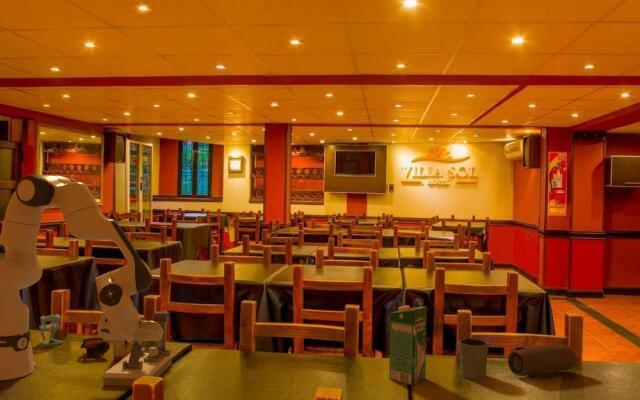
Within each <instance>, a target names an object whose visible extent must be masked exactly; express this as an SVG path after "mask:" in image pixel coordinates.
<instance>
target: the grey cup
mask: <svg viewBox="0 0 640 400" xmlns="http://www.w3.org/2000/svg"><path fill="white" fill-rule="evenodd" d="M458 350H459V351H458V352H459V361H460V362H459V363H460V364H459V365H460V368H459V372H460V377H462V378H464V379H467V380H470V381H482V380H485V379H486V378H487V363H488V352H489V341H487V340H485V339H481V338H475V337H464V338H460V339H459V340H458Z"/></svg>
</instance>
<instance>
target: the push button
mask: <svg viewBox="0 0 640 400" xmlns="http://www.w3.org/2000/svg"><path fill="white" fill-rule="evenodd" d="M148 353H149V358H157V357H158V347H156V346H151V347H148Z"/></svg>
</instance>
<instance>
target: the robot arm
mask: <svg viewBox="0 0 640 400" xmlns="http://www.w3.org/2000/svg"><path fill="white" fill-rule="evenodd" d="M94 196H95V195H93V193H92V192H91V190H90V189H89V187H88V185H86V184H85V183H83V182H80V181H78V180H75V179H74V178H72V177H69V176H66V175H65V176H62V175H56V174H28V175H24V176H23V177H22V178H20V179H19V180H18V182H17V184H16V187H15V191H14V192H13V193H12V195H11V197H10V200H9V201H8V204H7V207H6V209H5V214H4V218H3V222H2V226H1V232H0V244H1V245H2V246H3V247H4V251H5V257H4V260H1V261H0V381H6V380H14V379H19V378H22V377H25V376H28V375H30V374H32V373H33V372H34V371H35V367H36V365H37V364H36V362H35V361H34V354H33V347H32V343H31V342H30V341H31V330H30V325H29V323H30V322H29V321H30V318H29V316H30V311H29V306H27V305H26V304H25V303H23V301H22V299H21V298H22V297H21V296H20V295H21V294H20V290H23V289H27V288H29V287H31V286H33V285H35V284H36V283H37V282H38V281H39V280H40V279H41V278H42V277H43V276H42V275H43V266H42V264H41V263H40V262H39V261H38V257H37V256H38V255H37V254H38V253H37V242H38V238H39V233H40V228H41V223H42V219H43V214H44V211H45V210H46V209H57V208H59V210H60V211H61V214H62V217H63V220H64V223H65V224H66V226H67V227H66V228H67V229H68V230H69V232H70V234H72V236H74V237H75V238H77V239H80V240H84V241H111V242H113V243H115V244H116V245H117V247H118V248H119V250H120V251H121V253H122V254H123V256H124V257H125V260H126V261H127V264H126V265H124V266H121V267H119V268H116V269H114V270H111V271H108V272H106V273H103V274H100V275H99V276H97V277H95V279H93V282H92V285H91V287H90V290H91V291H90V292H91V294H92V295H91V296H92V298H93V301H94V303H95V304H96V306H97V308H98V309H100V310H101V311H102V313H101V316H100V319H99V321H98V324H97V328H96V330H97V332H98V335H99V338H102V339H103V340H104V341H109V340H110V341H114V340H126V341H128V342H130V343H131V346H133V345H141V343H142V341H144V342H145V341H146V342H157V341H160V340H161V339H162V336H163V329H162V328H161V326H160V325H159V324H158V323H157V321H154V320H142V319H141V316H140V314H139V312H138V310H137V308H136V307H135V306H134V302H133V300H132V298H131V296H133V295H136V294H138V293H142V292H144V291H148V290H149V289H150V287H151V286H152V284H153V282H154V277H153V273H152V270H151V269H150V267H149V266H148V264H146V262H145V261H144V260H143V259H142V258H141V257H140V255H139V253H138V251H137V250H136V248H135V247H134V245H133V244H132V242H131V241H130V239H129V238H128V236H127V234H126V233H125V232H124V230H123V229H122V227H121V226H120V225H119V224H118V222H117V221H116V220H114V218H113V219H111V218H108V217H106V216H105V214H103V212H102V211H101V209H100V207H99V205H98V202H97V201H96V198H95V197H94Z"/></svg>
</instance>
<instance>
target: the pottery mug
mask: <svg viewBox="0 0 640 400" xmlns="http://www.w3.org/2000/svg"><path fill="white" fill-rule="evenodd" d="M110 348H111V345H110V342H109V341H108V340H104V339H102V338H101V337H87V338H84V339H83V340H82V343H81V345H80V350H82V349H85V350H86V352H85V353H83V354H82V355H81V356H82V360H83V361H86V360H98V359H99V358H100V356H102V357H103V356H104V355H105V353H107V352H108V351H109V350H110Z"/></svg>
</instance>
